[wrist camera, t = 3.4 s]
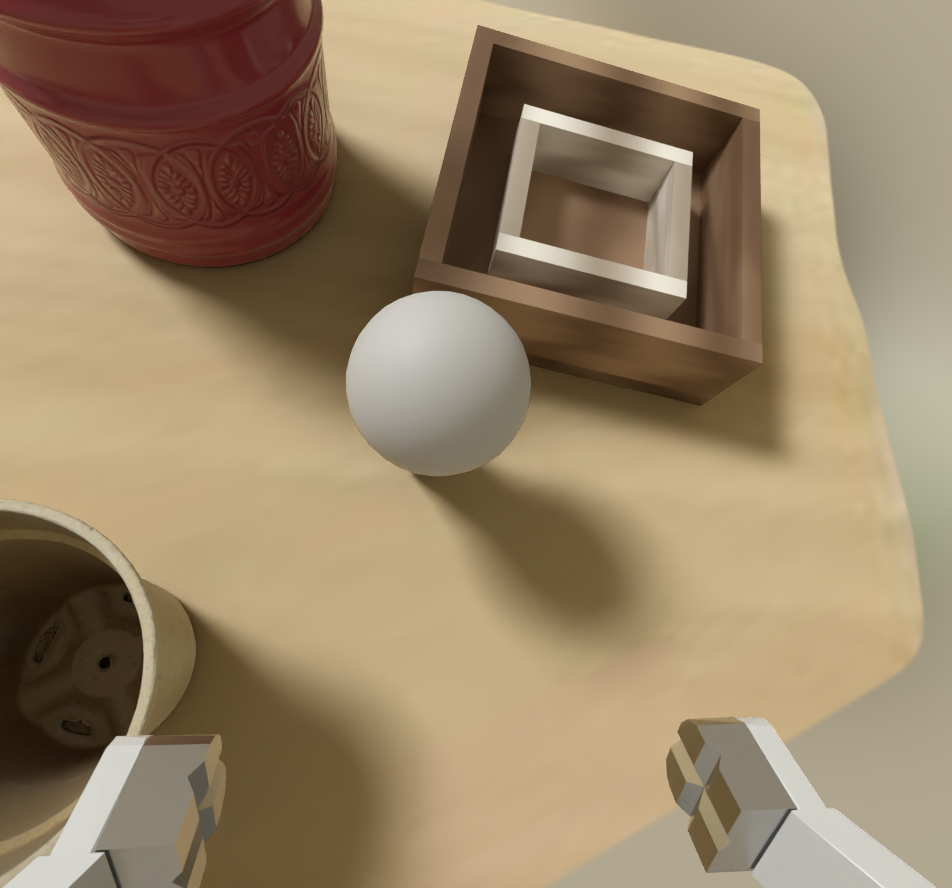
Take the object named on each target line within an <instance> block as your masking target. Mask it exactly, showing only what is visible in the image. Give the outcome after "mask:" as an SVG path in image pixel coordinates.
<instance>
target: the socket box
mask: <svg viewBox="0 0 952 888" xmlns="http://www.w3.org/2000/svg"><path fill="white" fill-rule="evenodd" d="M429 291H450V292H455V293H460V294H464V295H467V296H469V297H472V298H475V299H477V300H479V301H481V302H482V303H484V304H486V305H488V306H489V307H491V308H492V309H493V310H494V311H496V312H497V313H498V314H499V315H500V316H502V317H503V318H504V319H505V320H506V321H507V322H508V324H509V325H510V326H511V327H512V328H513V330H514V331H515V332H516V334H517V336H518V337H519V339H520V341H521V343H522V345H523V347H524V350H525V353H526V356H527V359H528V363H529V365H533V366H537V367H542V368H546V369H550V370H554V371H558V372H563V373H567V374H571V375H575V376H580V377H584V378H588V379H592V380H596V381H601V382H605V383H609V384H613V385H617V386H622V387H626V388H630V389H634V390H639V391H643V392H647V393H651V394H655V395H660V396H664V397H668V398H672V399H676V400H681V401H685V402H689V403H693V404H698V405H702V404H703V403H705V402H706V401H708V400H709V399H711V398H712V397H714V396H715V395H717V394H718V393H720V392H721V391H723V390H724V389H726V388H727V387H729V386H730V385H732V384H733V383H734V382H736V381H737V380H739V379H740V378H742V377H743V376H745V375H746V374H748V373H749V372H751V371H752V370H754V369H755V368H757V367H758V366H760V365H761V364H763V343H762V263H761V184H760V109H757V108H753V107H750V106H747V105H743V104H740V103H737V102H733V101H730V100H727V99H723V98H720V97H717V96H713V95H710V94H707V93H703V92H700V91H697V90H693V89H690V88H687V87H683V86H680V85H677V84H673V83H670V82H666V81H663V80H660V79H656V78H653V77H650V76H646V75H643V74H640V73H636V72H633V71H630V70H626V69H623V68H620V67H616V66H613V65H610V64H606V63H603V62H600V61H596V60H593V59H590V58H586V57H583V56H580V55H576V54H573V53H570V52H566V51H563V50H560V49H556V48H553V47H550V46H546V45H543V44H540V43H536V42H533V41H530V40H526V39H523V38H520V37H516V36H513V35H510V34H506V33H503V32H500V31H496V30H493V29H490V28H486V27H483V26H480V25H478V26H477V30H476V34H475V38H474V42H473V46H472V50H471V54H470V58H469V61H468V65H467V69H466V73H465V77H464V81H463V85H462V89H461V93H460V97H459V101H458V105H457V109H456V113H455V116H454V120H453V124H452V128H451V132H450V136H449V140H448V144H447V148H446V152H445V156H444V160H443V164H442V168H441V171H440V175H439V179H438V183H437V187H436V191H435V195H434V199H433V203H432V207H431V211H430V215H429V219H428V222H427V226H426V230H425V234H424V238H423V242H422V246H421V250H420V254H419V258H418V262H417V266H416V270H415V274H414V279H413V291H412V294H415V293H422V292H429Z"/></svg>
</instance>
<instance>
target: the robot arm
mask: <svg viewBox="0 0 952 888" xmlns="http://www.w3.org/2000/svg"><path fill="white" fill-rule="evenodd" d="M677 732H678V734H679V736H680V738H681V740H680V741H678V742H677V743H676V744H674V745H673V746H672V747H670V750H669V753H668V756H667V759H666V767H667V778H668V782H669V786H670V789H671V792H672V794H673V796H674V799H675V801H676V803H677V804H678V805H679V806H680V807H681V808H682V809H683V810H684V811H685V812H686V813H687V814H688V815H689V816H690V819H689V826H688V832H689V834H690V836H691V839H692V841H693V844H694V846H695V848H696V851H697V852H698V855H699V857H700V860H701V862H702V864H703V866H704V869H705V871H706V872H707V873H711V872H712V873H713V872H734V871H753V872H752V875H753V876H754V877H755V878H756V880H757V881H758V882H759V883H760V884H761V885H762V886H763V887H764V888H936V887H935V886H934V885H933V884H931V883H930V882H929V881H928V880H926V879H925V878H924V877H922V876H921V875H920V874H919V873H917V872H916V871H915V870H913V869H912V868H911V867H910V866H908V865H907V864H906V863H904V862H903V861H902V860H900V859H899V858H898V857H897V856H895V855H894V854H893V853H891V852H890V851H889V850H888V849H886V848H885V847H884V846H882V845H881V844H880V843H879V842H877V841H876V840H875V839H874V838H872V837H871V836H870V835H868V834H867V833H866V832H865V831H863V830H862V829H861V828H859V827H858V826H857V825H856V824H854V823H853V822H852V821H850V820H849V819H848V818H846V817H845V816H844V815H843V814H841V813H840V812H838V811H837V810H836V809H835V808H826V806H825V805H824V804H823V802H822V800H821V799H820V797H819V796H818V794H817V793H816V791H815V790H814V788H813V787H812V785H811V784H810V782H809V781H808V779H807V778H806V776H805V775H804V773H803V772H802V770H801V769H800V767H799V766H798V764H797V763H796V761H795V760H794V758H793V757H792V755H791V754H790V752H789V751H788V749H787V748H786V746H785V745H784V743H783V742H782V740H781V739H780V737H779V736H778V734H777V733H776V731H775V730H774V728H773V727H772V725H771V724H770V723H769V722H768V721H767V720H765V719H764V718H762V717H742V718H734V717H724V718H704V719H687V720H685V721H684V722H682V723H681V725H680V727H679V729H678V731H677ZM221 750H222V742H221V737H220V734H205V735H156V736H154V735H139V736H116V737H115V739H114V740H113V741H112V742H111V743H110V744H109V745H108V747H107V748H106V749H105V751H104V753H103V755H102V757H101V759H100V761H99V763H98V765H97V766H96V768H95V770H94V772H93V774H92V776H91V778H90V780H89V782H88V784H87V785H86V787H85V789H84V791H83V793H82V795H81V797H80V799H79V801H78V802H77V804H76V806H75V808H74V810H73V812H72V814H71V816H70V818H69V820H68V821H67V823H66V825H65V827H64V829H63V831H62V833H61V835H60V837H59V839H58V840H57V842H56V844H55V846H54V848H53V850H52V852H51V854H50V855H41V856H38V857H36V858H35V859H34V860H33V861H32V862H31V863H30V864H29V865H27V866H26V867H25V868H24V869H23V870H22V871H21V872H19V873H18V874H17V875H16V876H15V877H14V878H13V879H12V880H10V881H9V882H8V883H7V884H6V885H5V886H4V887H2V888H199V887H200V884H201V880H202V877H203V874H204V870H205V867H206V863H207V857H206V852H205V846H204V842H205V841H206V840H207V839H208V838H209V837H210V835H211V834H212V833H213V832H214V831H215V830H216V829H217V826H218V822H219V818H220V815H221V811H222V807H223V801H224V796H225V790H226V768H225V764H224V763H223V762H221V761H220V760H219V756H220V753H221Z"/></svg>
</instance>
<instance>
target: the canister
mask: <svg viewBox="0 0 952 888" xmlns="http://www.w3.org/2000/svg"><path fill="white" fill-rule="evenodd" d="M322 30H323V7H322V1H321V0H0V87H1V88H2V90H3V91H4V92H5V94H6V95H7V97H8V98H9V99H10V101H11V102H12V104H13V105H14V106H15V108H16V109H17V110H18V112H19V113H20V115H21V116H22V117H23V119H24V120H25V122H26V123H27V124H28V126H29V127H30V129H31V130H32V131H33V133H34V134H35V135H36V137H37V138H38V140H39V141H40V142H41V144H42V145H43V147H44V148H45V149H46V151H47V152H48V154H49V155H50V156H51V158H52V159H53V162H54V164H55V167H56V169H57V171H58V173H59V175H60V177H61V179H62V180H63V182H64V183H65V185H66V186H67V187H68V189H69V190H70V191H71V192H72V194H73V195H74V197H75V198H76V199H77V201H78V202H79V203H80V204H81V206H82V207H83V208H84V209H85V210H86V211H87V212H88V213H89V214H90V215H91V216H92V217H93V218H94V219H96V220H97V221H98V222H99V223H100V224H102V225H103V226H105V227H106V228H107V229H108V230H109V231H110V232H111V233H112V234H113V235H114V236H116V237H117V238H118V239H120V240H121V241H122V242H124V243H125V244H127V245H129V246H130V247H132V248H134V249H136V250H138V251H140V252H142V253H144V254H147V255H149V256H151V257H154V258H157V259H160V260H163V261H167V262H171V263H176V264H181V265H188V266H198V267H221V266H231V265H238V264H243V263H248V262H252V261H256V260H259V259H262V258H265V257H267V256H270V255H272V254H275V253H277V252H279V251H281V250H283V249H285V248H286V247H288V246H290V245H291V244H293V243H294V242H296V241H297V240H299V239H300V238H301V237H302V236H303V235H305V234H306V233H307V232H308V231H309V230H310V229H311V228H312V227H313V226H314V225H315V223H316V222H317V221H318V220H319V218H320V217H321V215H322V214H323V212H324V210H325V209H326V207H327V205H328V202H329V200H330V197H331V194H332V190H333V184H334V177H335V173H336V167H337V145H336V132H335V126H334V122H333V119H332V116H331V113H330V110H329V100H328V91H327V82H326V72H325V63H324V53H323V44H322Z"/></svg>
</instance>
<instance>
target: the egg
mask: <svg viewBox="0 0 952 888" xmlns="http://www.w3.org/2000/svg"><path fill="white" fill-rule="evenodd" d="M530 391H531V377H530V368H529V363H528V359H527V356H526V353H525V350H524V347H523V345H522V343H521V341H520V339H519V337H518V336H517V334H516V332H515V331H514V330H513V328H512V327H511V326H510V325H509V324H508V322H507V321H506V320H505V319H504V318H503V317H502V316H500V315H499V314H498V313H497V312H496V311H494V310H493V309H492V308H491V307H489V306H488V305H486V304H484V303H482V302H481V301H479V300H477V299H475V298H472V297H469V296H467V295H464V294H460V293H455V292H450V291H429V292H422V293H415V294H412V295H409V296H406V297H403V298H400V299H398V300H396V301H394V302H393V303H391V304H389V305H387V306H385V307H384V308H383V309H382V310H381V311H380V312H378V313H377V314H376V315H375V316H374V317H373V318H372V319H371V320H370V321H369V323H368V324H367V325H366V327H365V328H364V329H363V330H362V332H361V333H360V334H359V336H358V338H357V340H356V342H355V345H354V347H353V349H352V351H351V354H350V358H349V362H348V367H347V371H346V394H347V399H348V404H349V408H350V413H351V415H352V418H353V420H354V422H355V424H356V426H357V428H358V430H359V432H360V433H361V434H362V436H363V437H364V438H365V440H366V441H367V442H368V444H369V445H370V446H371V447H372V448H374V449H375V450H376V451H377V452H378V453H379V454H380V455H381V456H382V457H384V458H385V459H386V460H388V461H390V462H391V463H393V464H395V465H396V466H398V467H399V468H402V469H405V470H408V471H410V472H412V473H415V474H418V475H428V476H451V475H455V474H460V473H464V472H468V471H471V470H474V469H476V468H478V467H480V466H483V465H485V464H487V463H488V462H490V461H491V460H492V459H494V458H495V457H497V456H498V455H499V454H501V452H502V451H503V450H504V449H505V448H506V447H507V446H508V445H509V444H510V443H511V441H512V440H513V439H514V437H515V436H516V434H517V432H518V431H519V429H520V427H521V426H522V424H523V422H524V419H525V416H526V413H527V410H528V407H529V401H530Z"/></svg>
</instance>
